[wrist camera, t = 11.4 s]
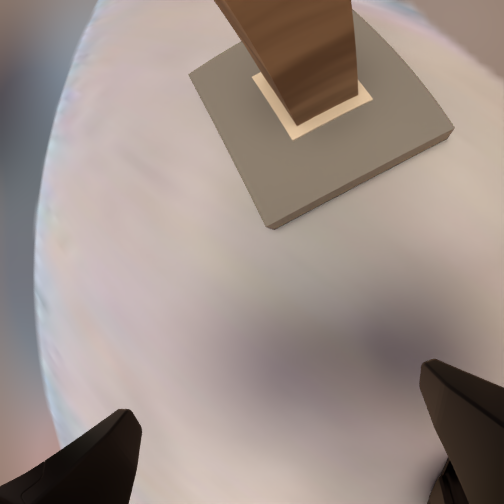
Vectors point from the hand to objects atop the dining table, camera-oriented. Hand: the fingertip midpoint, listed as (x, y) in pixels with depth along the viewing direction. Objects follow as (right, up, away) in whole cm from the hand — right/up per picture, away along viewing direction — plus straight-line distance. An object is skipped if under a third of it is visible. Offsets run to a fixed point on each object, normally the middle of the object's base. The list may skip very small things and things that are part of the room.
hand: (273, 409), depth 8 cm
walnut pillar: (+3, +15, +10) cm, 19 cm away
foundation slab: (+4, +15, +12) cm, 20 cm away
